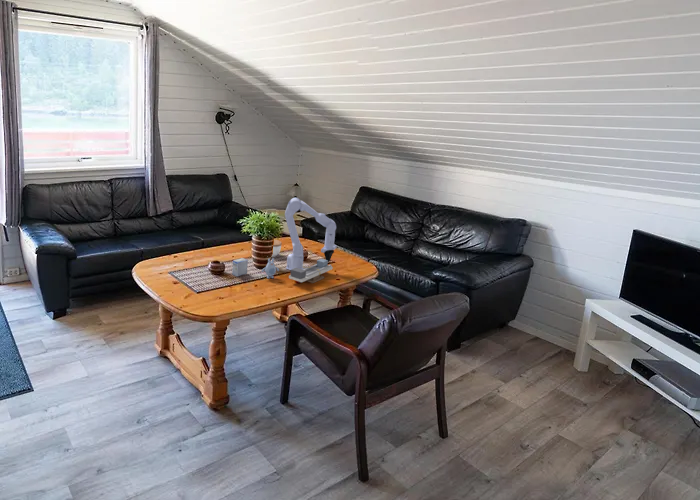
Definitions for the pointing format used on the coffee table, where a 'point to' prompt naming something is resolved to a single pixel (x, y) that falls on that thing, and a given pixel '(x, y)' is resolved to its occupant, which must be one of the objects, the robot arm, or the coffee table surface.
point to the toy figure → (270, 268)
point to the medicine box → (239, 267)
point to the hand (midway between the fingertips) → (327, 261)
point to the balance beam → (309, 273)
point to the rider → (322, 263)
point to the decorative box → (276, 247)
